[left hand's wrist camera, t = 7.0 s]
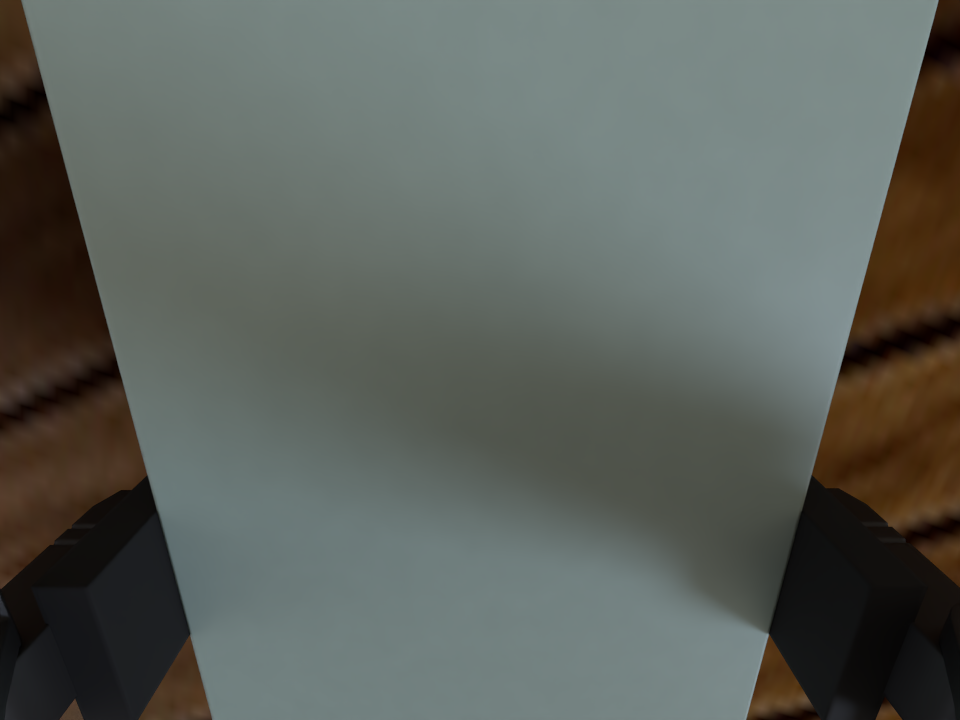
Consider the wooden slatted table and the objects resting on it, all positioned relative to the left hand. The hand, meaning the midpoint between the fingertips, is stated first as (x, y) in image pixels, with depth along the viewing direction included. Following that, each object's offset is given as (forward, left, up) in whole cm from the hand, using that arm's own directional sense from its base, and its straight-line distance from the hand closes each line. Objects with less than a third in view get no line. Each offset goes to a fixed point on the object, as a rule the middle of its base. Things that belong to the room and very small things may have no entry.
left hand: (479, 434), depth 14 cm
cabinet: (+2, +5, -5) cm, 7 cm away
